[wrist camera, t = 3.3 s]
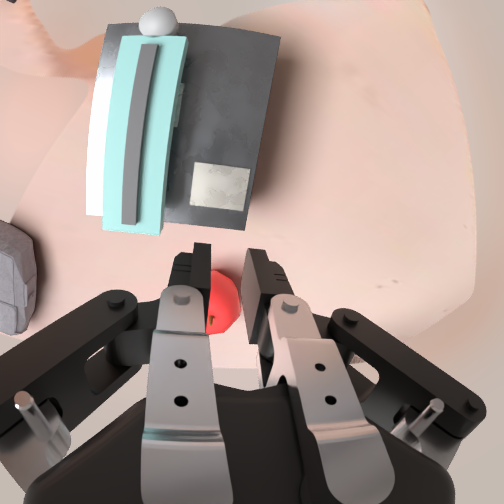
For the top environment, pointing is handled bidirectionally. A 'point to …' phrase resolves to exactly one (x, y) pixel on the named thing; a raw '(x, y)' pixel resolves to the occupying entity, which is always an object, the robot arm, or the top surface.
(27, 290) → the small grey backpack
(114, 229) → the bar
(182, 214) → the box
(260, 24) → the top surface
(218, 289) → the apple
